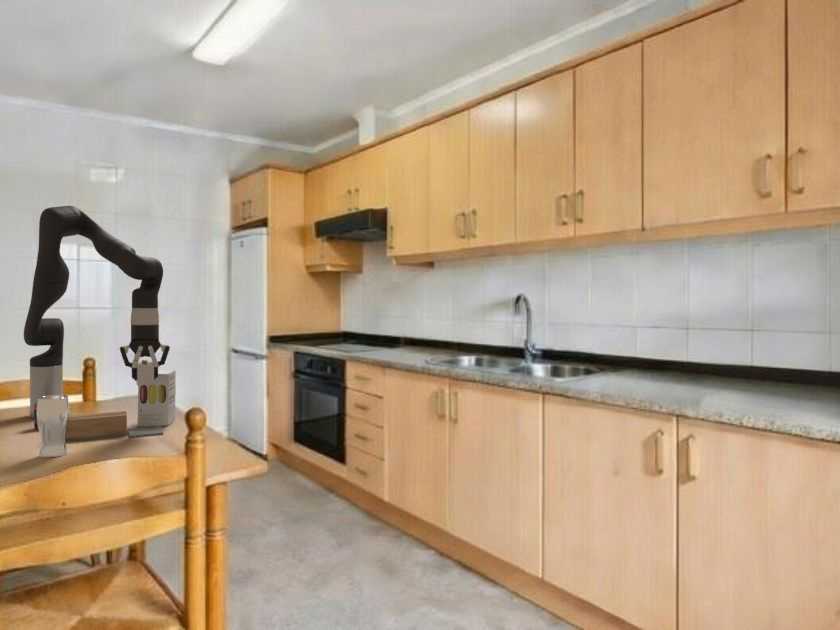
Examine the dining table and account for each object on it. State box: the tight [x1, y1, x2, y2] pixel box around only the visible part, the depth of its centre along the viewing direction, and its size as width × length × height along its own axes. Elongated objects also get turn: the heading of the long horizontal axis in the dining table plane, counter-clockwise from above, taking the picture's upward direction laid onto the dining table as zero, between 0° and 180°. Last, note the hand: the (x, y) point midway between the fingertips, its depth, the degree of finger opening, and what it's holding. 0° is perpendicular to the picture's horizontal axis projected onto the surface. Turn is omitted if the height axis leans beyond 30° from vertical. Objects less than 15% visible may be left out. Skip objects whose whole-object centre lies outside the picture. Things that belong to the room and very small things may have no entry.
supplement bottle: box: [33, 397, 39, 430], centre depth 167 cm, size 5×5×10 cm
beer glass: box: [37, 394, 70, 459], centre depth 139 cm, size 7×7×15 cm
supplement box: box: [137, 369, 177, 427], centre depth 176 cm, size 10×9×17 cm
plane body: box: [65, 410, 129, 443], centre depth 158 cm, size 7×18×6 cm, turn 120°
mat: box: [127, 425, 164, 438], centre depth 163 cm, size 10×9×1 cm
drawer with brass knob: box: [135, 359, 154, 387], centre depth 163 cm, size 4×8×7 cm, turn 30°
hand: (145, 379), depth 163 cm, fingers closed on drawer with brass knob, 4 cm apart
